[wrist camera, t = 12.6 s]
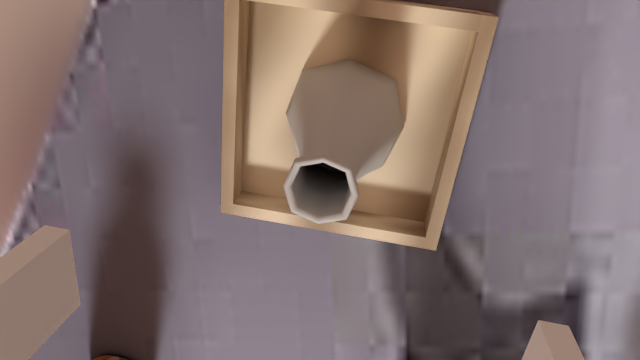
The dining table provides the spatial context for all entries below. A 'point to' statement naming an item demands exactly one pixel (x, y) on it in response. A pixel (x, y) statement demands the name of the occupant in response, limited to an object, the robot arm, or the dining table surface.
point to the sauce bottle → (109, 358)
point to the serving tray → (378, 54)
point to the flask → (339, 136)
